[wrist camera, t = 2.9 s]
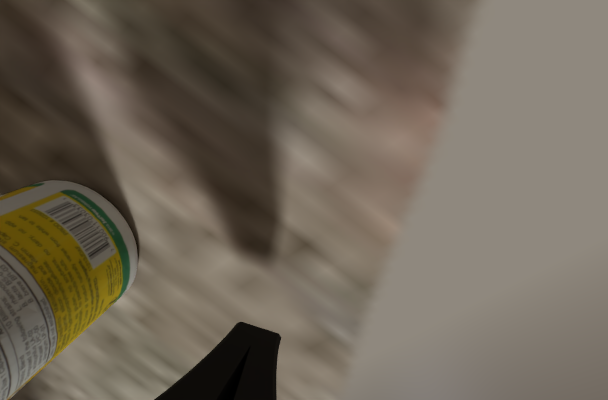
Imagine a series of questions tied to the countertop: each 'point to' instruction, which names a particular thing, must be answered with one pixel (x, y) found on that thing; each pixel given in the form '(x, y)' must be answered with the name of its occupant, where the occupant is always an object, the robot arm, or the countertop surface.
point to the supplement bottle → (56, 272)
